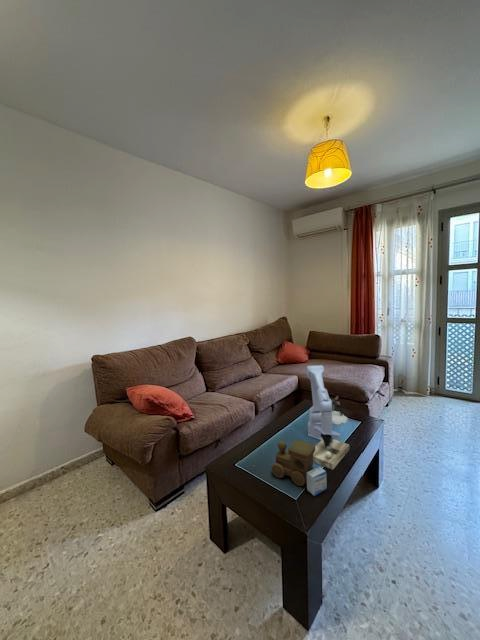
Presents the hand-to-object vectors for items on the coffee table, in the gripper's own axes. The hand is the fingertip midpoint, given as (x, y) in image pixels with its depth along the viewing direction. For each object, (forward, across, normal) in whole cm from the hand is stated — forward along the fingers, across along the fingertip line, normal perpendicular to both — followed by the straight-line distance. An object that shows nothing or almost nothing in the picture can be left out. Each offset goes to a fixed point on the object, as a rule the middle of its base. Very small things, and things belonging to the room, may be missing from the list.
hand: (327, 446), depth 140 cm
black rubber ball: (-1, -2, +7) cm, 8 cm away
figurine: (+4, -16, +42) cm, 45 cm away
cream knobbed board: (+4, +1, 0) cm, 4 cm away
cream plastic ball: (0, +4, -7) cm, 8 cm away
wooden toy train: (+5, -5, -27) cm, 28 cm away
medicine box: (+5, +8, -28) cm, 29 cm away
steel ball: (0, +1, 0) cm, 1 cm away
